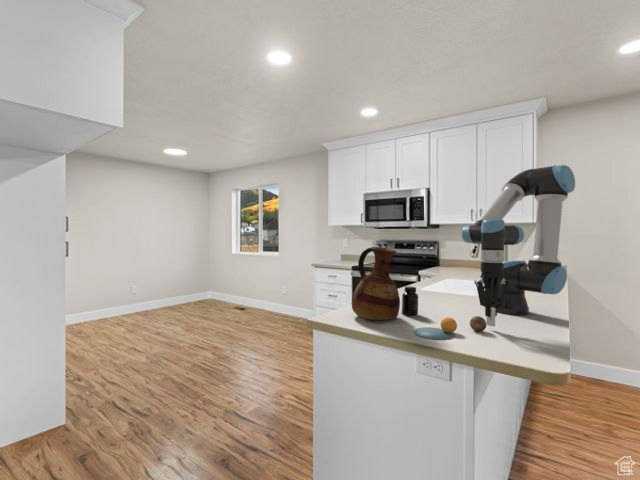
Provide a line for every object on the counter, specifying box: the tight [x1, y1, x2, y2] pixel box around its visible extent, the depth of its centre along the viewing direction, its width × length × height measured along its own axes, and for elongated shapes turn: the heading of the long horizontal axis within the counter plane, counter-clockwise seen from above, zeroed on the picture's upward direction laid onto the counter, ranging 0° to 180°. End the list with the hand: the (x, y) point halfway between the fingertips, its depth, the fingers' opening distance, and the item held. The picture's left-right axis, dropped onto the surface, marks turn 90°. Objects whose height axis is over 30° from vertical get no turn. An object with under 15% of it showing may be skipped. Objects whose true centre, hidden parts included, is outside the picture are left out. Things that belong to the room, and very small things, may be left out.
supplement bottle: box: [401, 285, 419, 317], centre depth 147 cm, size 7×7×12 cm
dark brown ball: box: [469, 315, 487, 333], centre depth 123 cm, size 6×6×6 cm
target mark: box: [412, 326, 455, 341], centre depth 120 cm, size 14×14×1 cm
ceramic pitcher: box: [351, 245, 401, 321], centre depth 141 cm, size 20×20×30 cm
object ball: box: [440, 316, 458, 333], centre depth 121 cm, size 6×6×6 cm
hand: (490, 325), depth 124 cm, fingers closed
